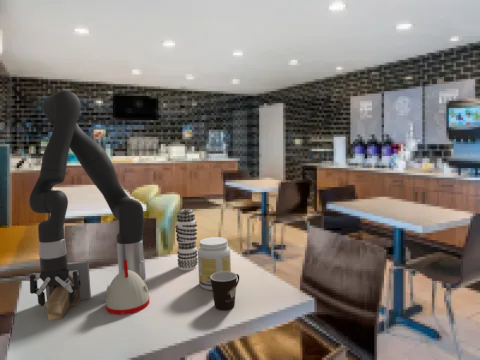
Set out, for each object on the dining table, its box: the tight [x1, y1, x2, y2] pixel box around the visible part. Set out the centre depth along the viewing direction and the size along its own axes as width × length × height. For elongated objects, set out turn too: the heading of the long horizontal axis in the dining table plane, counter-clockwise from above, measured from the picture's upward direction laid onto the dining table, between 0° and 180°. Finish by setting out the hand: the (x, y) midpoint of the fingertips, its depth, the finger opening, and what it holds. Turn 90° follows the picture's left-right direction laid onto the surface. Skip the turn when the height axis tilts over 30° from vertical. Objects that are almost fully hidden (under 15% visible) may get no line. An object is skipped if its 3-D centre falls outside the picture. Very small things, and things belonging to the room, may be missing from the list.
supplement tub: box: [197, 236, 232, 291], centre depth 134 cm, size 12×12×17 cm
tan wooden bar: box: [45, 285, 70, 321], centre depth 116 cm, size 4×12×6 cm, turn 9°
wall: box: [45, 261, 92, 301], centre depth 124 cm, size 14×2×13 cm, turn 98°
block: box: [49, 275, 82, 308], centre depth 121 cm, size 8×5×10 cm, turn 98°
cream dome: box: [105, 260, 150, 316], centre depth 119 cm, size 14×14×15 cm
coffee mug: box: [210, 271, 240, 311], centre depth 117 cm, size 12×9×10 cm
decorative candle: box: [175, 208, 198, 271], centre depth 153 cm, size 9×9×25 cm
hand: (57, 303), depth 113 cm, fingers open, 8 cm apart
